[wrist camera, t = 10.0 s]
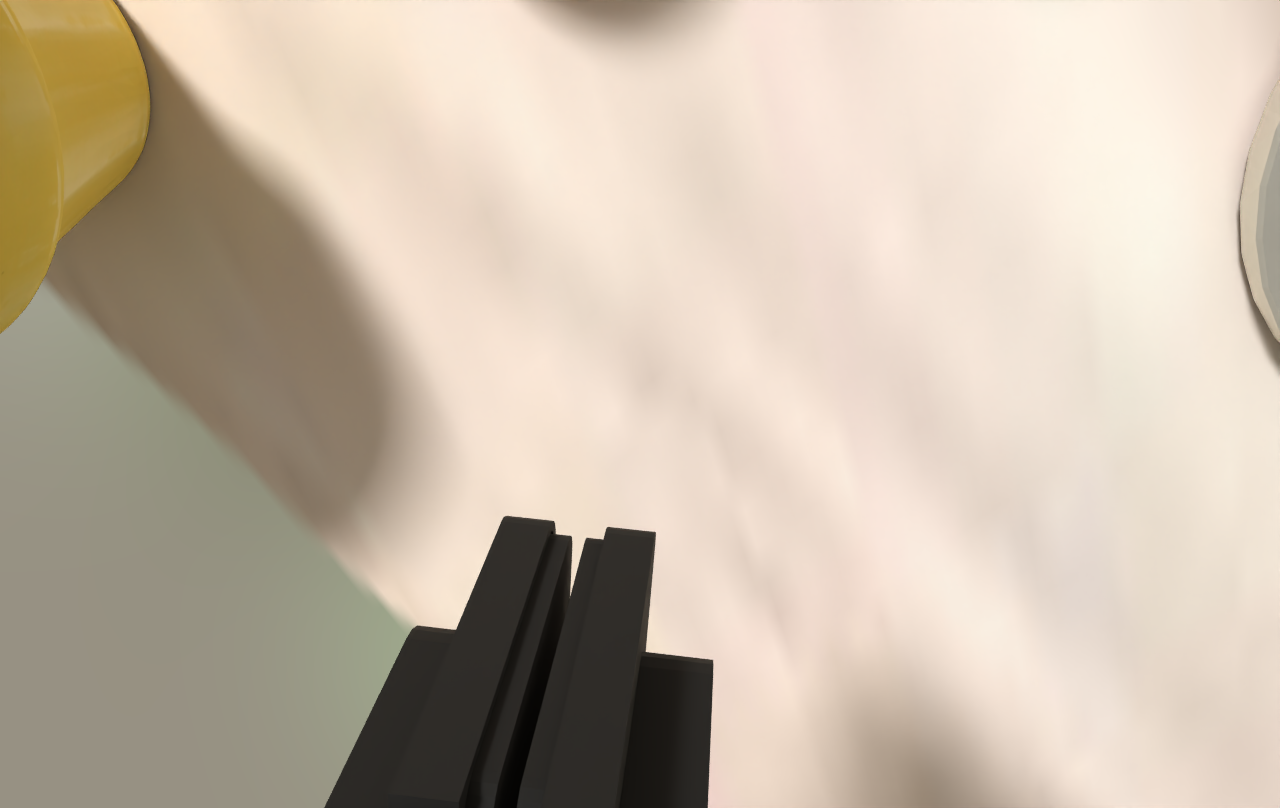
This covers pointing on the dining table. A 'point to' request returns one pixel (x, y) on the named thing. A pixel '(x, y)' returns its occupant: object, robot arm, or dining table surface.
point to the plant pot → (61, 128)
